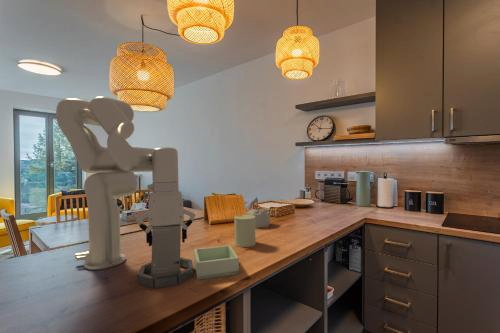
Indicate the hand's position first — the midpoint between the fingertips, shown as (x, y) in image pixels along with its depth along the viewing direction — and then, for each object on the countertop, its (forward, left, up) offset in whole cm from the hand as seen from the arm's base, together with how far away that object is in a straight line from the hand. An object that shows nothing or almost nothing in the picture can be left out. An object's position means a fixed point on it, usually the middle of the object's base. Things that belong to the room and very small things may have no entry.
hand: (167, 243), depth 76 cm
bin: (+15, 0, -10) cm, 18 cm away
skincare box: (0, 0, -10) cm, 10 cm away
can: (+31, +21, -10) cm, 39 cm away
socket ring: (0, 0, -10) cm, 10 cm away
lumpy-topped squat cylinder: (+47, +49, -10) cm, 69 cm away
